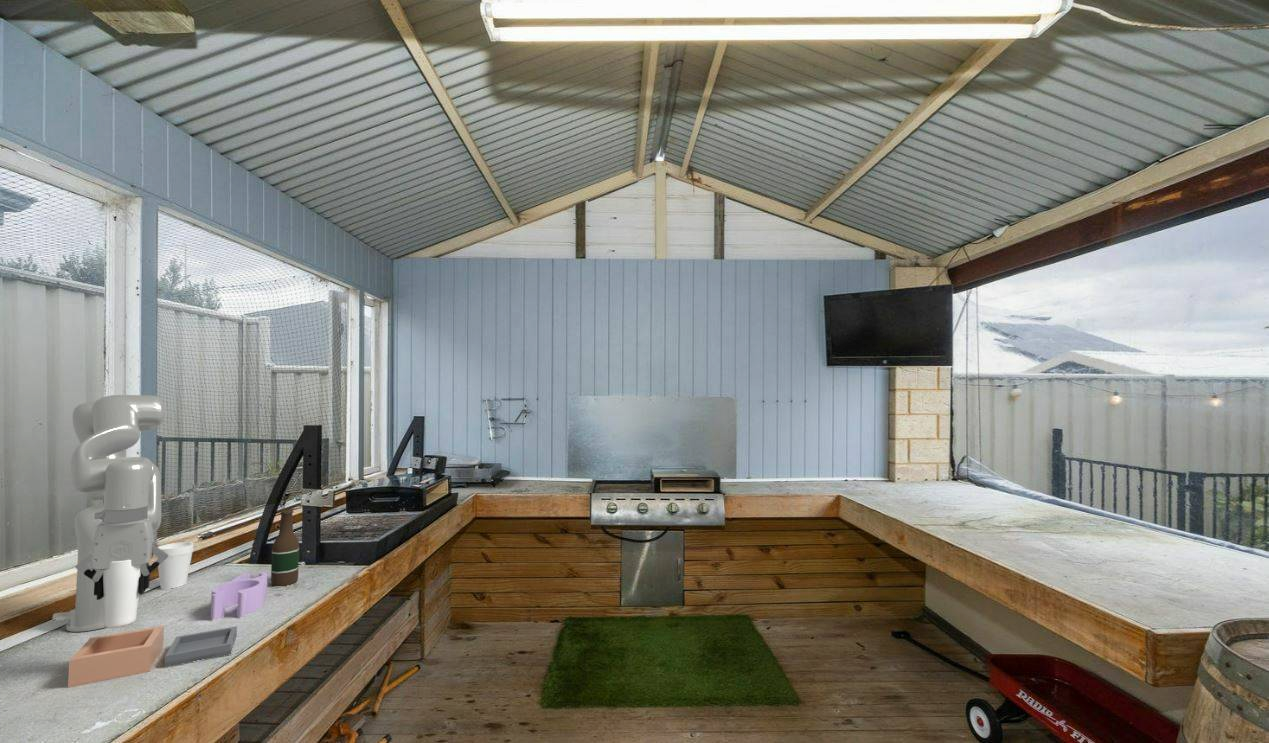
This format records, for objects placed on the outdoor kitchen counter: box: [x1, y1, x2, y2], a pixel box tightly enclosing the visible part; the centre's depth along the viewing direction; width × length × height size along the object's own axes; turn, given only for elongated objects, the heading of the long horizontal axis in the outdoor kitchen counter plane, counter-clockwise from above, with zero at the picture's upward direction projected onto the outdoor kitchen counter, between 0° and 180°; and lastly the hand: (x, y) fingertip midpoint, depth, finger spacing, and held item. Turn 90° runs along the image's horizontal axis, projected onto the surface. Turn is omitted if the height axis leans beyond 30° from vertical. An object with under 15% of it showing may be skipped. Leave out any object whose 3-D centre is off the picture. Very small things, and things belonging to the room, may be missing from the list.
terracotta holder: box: [67, 625, 165, 688], centre depth 123 cm, size 13×13×6 cm
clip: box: [210, 571, 269, 620], centre depth 160 cm, size 20×12×7 cm, turn 16°
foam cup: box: [156, 541, 195, 590], centre depth 178 cm, size 10×9×13 cm
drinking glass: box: [103, 560, 141, 629], centre depth 125 cm, size 7×7×15 cm
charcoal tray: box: [164, 626, 238, 668], centre depth 131 cm, size 12×12×2 cm
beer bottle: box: [270, 508, 300, 587], centre depth 181 cm, size 8×8×24 cm
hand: (121, 594), depth 125 cm, fingers closed on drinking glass, 6 cm apart
